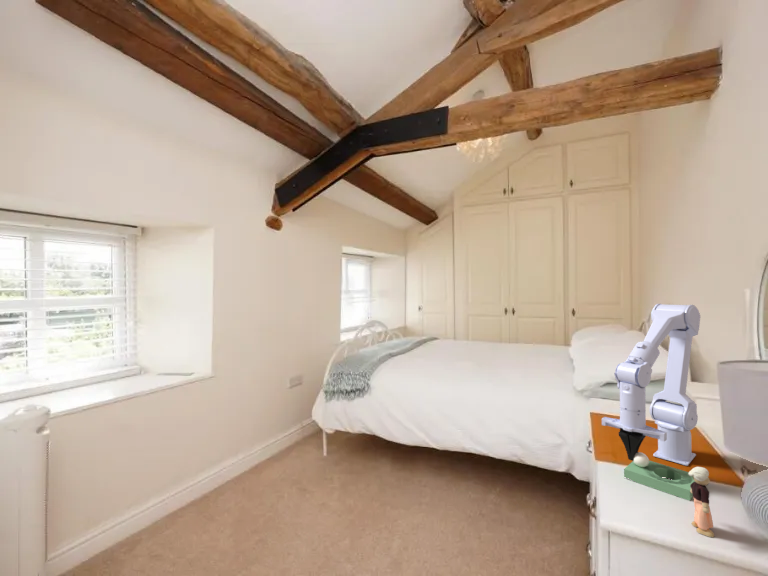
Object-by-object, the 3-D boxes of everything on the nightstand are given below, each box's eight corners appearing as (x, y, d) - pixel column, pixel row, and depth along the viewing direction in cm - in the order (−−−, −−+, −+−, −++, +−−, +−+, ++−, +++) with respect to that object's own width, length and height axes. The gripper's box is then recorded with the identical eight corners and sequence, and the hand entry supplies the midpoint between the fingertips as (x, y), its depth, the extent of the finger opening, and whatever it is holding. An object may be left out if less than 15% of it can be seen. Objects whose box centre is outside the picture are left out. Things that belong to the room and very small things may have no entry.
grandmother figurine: (725, 541, 73) (724, 477, 73) (702, 539, 73) (701, 475, 73) (700, 517, 80) (699, 459, 80) (680, 515, 81) (679, 457, 81)
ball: (633, 456, 101) (639, 447, 99) (647, 466, 98) (653, 457, 97) (627, 462, 99) (633, 452, 97) (642, 472, 96) (648, 463, 95)
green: (637, 465, 103) (637, 456, 103) (700, 485, 92) (700, 475, 92) (624, 478, 97) (624, 469, 97) (689, 500, 86) (689, 490, 86)
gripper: (596, 404, 102) (597, 453, 102) (660, 419, 91) (660, 474, 91) (607, 399, 107) (607, 446, 107) (669, 412, 95) (669, 465, 95)
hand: (632, 459), depth 99 cm, fingers closed, pressing on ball
